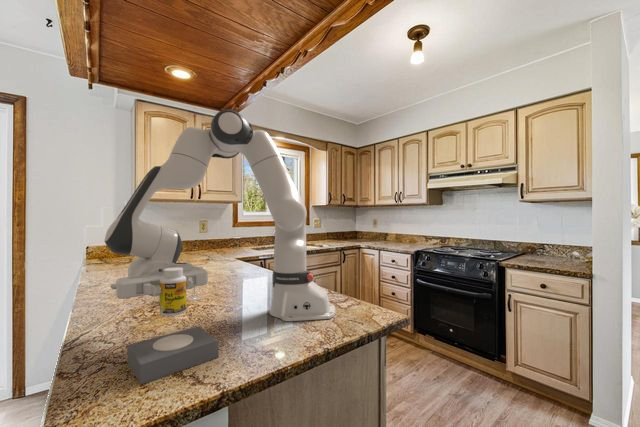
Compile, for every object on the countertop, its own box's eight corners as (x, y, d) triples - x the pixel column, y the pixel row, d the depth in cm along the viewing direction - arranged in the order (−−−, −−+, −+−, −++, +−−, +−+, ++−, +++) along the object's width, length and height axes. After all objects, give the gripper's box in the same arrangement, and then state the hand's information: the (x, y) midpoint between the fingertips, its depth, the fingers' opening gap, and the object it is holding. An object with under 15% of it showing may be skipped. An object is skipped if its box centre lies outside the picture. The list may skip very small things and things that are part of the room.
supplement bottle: (160, 318, 65) (160, 272, 65) (158, 311, 70) (158, 268, 70) (188, 314, 68) (188, 269, 68) (184, 307, 73) (184, 265, 73)
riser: (198, 341, 79) (198, 325, 79) (218, 357, 70) (218, 339, 70) (127, 362, 68) (127, 344, 68) (140, 384, 59) (140, 363, 59)
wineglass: (197, 301, 114) (197, 270, 114) (181, 300, 115) (181, 269, 115) (206, 296, 121) (206, 266, 120) (191, 295, 122) (191, 266, 122)
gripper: (108, 271, 71) (120, 281, 61) (195, 261, 85) (216, 268, 75) (108, 298, 71) (120, 312, 61) (195, 283, 85) (216, 293, 75)
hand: (174, 288), depth 68 cm, fingers closed on supplement bottle, 6 cm apart
